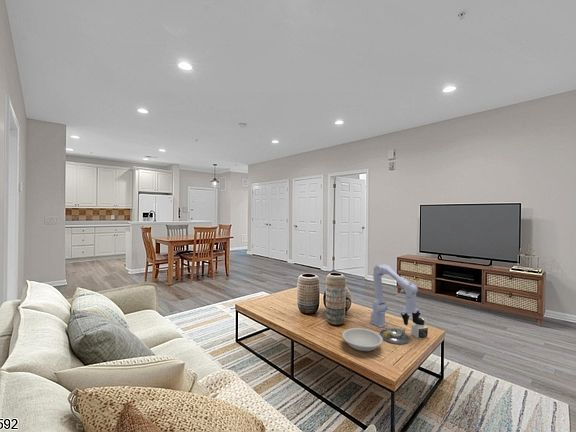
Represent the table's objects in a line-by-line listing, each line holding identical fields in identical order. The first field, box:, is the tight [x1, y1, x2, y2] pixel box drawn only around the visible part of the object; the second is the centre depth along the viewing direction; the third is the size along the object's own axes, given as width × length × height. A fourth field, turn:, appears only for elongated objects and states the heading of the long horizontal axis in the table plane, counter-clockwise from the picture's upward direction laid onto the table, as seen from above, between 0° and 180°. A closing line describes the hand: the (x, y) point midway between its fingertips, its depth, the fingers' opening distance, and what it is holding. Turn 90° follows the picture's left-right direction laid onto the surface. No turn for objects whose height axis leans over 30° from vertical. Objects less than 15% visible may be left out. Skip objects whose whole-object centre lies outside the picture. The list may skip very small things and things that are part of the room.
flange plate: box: [379, 328, 410, 346], centre depth 180 cm, size 18×18×2 cm
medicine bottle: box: [410, 316, 429, 340], centre depth 183 cm, size 7×7×12 cm
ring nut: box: [383, 327, 406, 339], centre depth 180 cm, size 9×16×3 cm, turn 125°
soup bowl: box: [341, 327, 384, 352], centre depth 168 cm, size 24×24×7 cm
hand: (410, 323), depth 179 cm, fingers open, 7 cm apart
